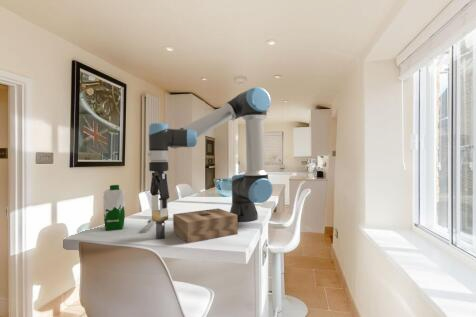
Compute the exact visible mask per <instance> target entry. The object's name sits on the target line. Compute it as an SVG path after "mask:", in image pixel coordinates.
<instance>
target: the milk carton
mask: <svg viewBox="0 0 476 317" xmlns="http://www.w3.org/2000/svg"><path fill="white" fill-rule="evenodd" d="M102 199H103V219H104V230H105V231H118V230H119V231H120V230H123V228H124V226H125V220H126V219H125V218H126V212H125V211H126V210H125V209H126V207H125V203H126V202H125V201H126V199H125V189H124V188H120V185H119V184H112V185H109V189H106V190H104V191H103V198H102Z"/></svg>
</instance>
